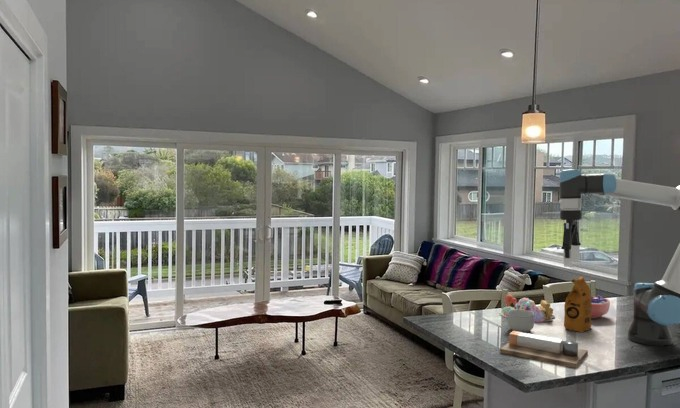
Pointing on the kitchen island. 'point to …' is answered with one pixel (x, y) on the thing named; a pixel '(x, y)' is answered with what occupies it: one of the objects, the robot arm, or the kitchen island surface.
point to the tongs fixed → (566, 346)
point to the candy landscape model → (529, 308)
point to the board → (545, 355)
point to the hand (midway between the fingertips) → (571, 264)
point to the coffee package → (578, 307)
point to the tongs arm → (535, 342)
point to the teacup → (520, 320)
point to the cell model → (599, 306)
